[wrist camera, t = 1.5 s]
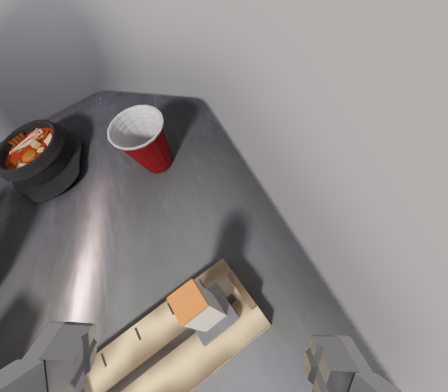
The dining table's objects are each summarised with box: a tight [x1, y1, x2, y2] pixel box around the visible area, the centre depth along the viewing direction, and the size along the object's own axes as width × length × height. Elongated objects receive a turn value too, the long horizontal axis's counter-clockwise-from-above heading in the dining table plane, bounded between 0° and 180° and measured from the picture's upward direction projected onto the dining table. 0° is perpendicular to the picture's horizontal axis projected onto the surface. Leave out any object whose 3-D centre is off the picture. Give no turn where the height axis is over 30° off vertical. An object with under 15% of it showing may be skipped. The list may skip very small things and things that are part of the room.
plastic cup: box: [107, 105, 172, 173], centre depth 55 cm, size 11×11×12 cm
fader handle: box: [167, 279, 240, 346], centre depth 35 cm, size 6×6×11 cm
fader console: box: [81, 258, 272, 392], centre depth 40 cm, size 12×28×4 cm, turn 125°
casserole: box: [0, 120, 82, 203], centre depth 64 cm, size 25×19×8 cm
